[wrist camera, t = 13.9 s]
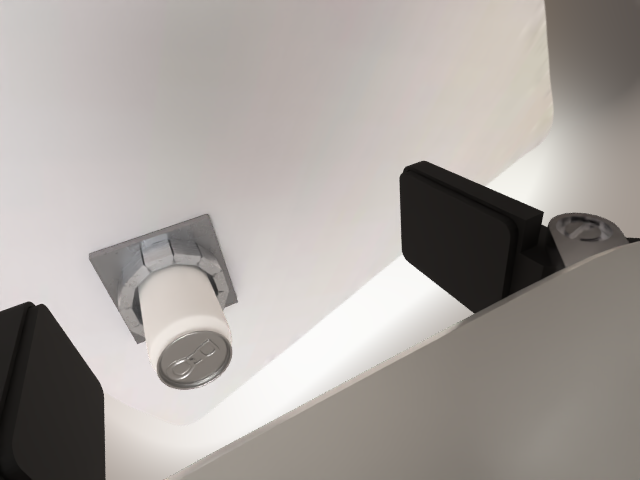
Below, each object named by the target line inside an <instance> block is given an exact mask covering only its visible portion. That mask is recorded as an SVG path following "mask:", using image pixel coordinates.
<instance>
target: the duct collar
mask: <svg viewBox="0 0 640 480" xmlns="http://www.w3.org/2000/svg"><path fill="white" fill-rule="evenodd" d="M89 260H90V262H91V263H92V265H93V267H94V269H95V270H96V272H97V274H98V276H99V277H100V279H101V281H102V283H103V284H104V286H105V288H106V290H107V291H108V293H109V295H110V297H111V298H112V300H113V302H114V304H115V305H116V307H117V309H118V311H119V312H120V314H121V316H122V318H123V320H124V321H125V323H126V325H127V327H128V328H129V330H130V332H131V334H132V335H133V337H134V339H135V341H136V342H137V344H139V343H141V342H144V341H146V339H145V333H144V326H143V320H142V313H141V306H140V299H139V292H138V285H139V284H140V283H141V282H142V281H143V280H144V279H145V278H146V277H147V276H148V275H149V274H150V273H151V272H153V271H156V270H159V269H161V268H164V267H167V266H169V265H172V264H184V265H197V266H198V267H200V268H201V269H203V270H204V271H205V272H206V274H207V276H208V278H209V281H210V283H211V285H212V288H213V290H214V292H215V295H216V297H217V299H218V302H219V304H220V306H221V309H222V311H223V310H224V308H225V307H227V306H230V305H232V304H234V303H237V302H238V300H237V297H236V295H235V292H234V289H233V286H232V283H231V280H230V277H229V274H228V271H227V268H226V265H225V262H224V259H223V256H222V253H221V250H220V247H219V244H218V242H217V239H216V236H215V233H214V230H213V227H212V224H211V221H210V218H209V216H208V214H206V215H203V216H200V217H197V218H194V219H191V220H188V221H185V222H182V223H179V224H176V225H173V226H170V227H167V228H164V229H161V230H158V231H155V232H152V233H149V234H147V235H144V236H141V237H138V238H135V239H132V240H129V241H126V242H123V243H120V244H117V245H114V246H111V247H108V248H105V249H102V250H99V251H96V252H93V253H90V254H89Z"/></svg>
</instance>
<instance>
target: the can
mask: <svg viewBox="0 0 640 480" xmlns="http://www.w3.org/2000/svg"><path fill="white" fill-rule="evenodd" d="M138 292H139V299H140V306H141V313H142V320H143V326H144V333H145V339H146V345H147V351H148V357H149V361H150V363H151V366H152V367H153V369H154V370H155V371H156V372H157V374H158V376H159V378H160V380H161V381H162V382H163V383H164V384H165V385H167V386H169V387H171V388H175V389H181V390H187V389H194V388H198V387H201V386H204V385H206V384H208V383H210V382H212V381H214V380H215V379H216V378H218V377H219V376H220V375H221V374H222V373H223V372H224V371H225V370H226V368H227V367H228V365H229V363H230V361H231V358H232V347H231V344H232V335H231V331H230V328H229V325H228V323H227V320H226V318H225V316H224V313H223V311H222V309H221V306H220V304H219V302H218V299H217V297H216V295H215V292H214V290H213V288H212V285H211V283H210V281H209V278H208V276H207V274H206V272H205V271H204V270H203V269H201V268H200V267H198V266H197V265H184V264H172V265H169V266H167V267H164V268H161V269H159V270H156V271H153V272H151V273H150V274H149V275H148V276H147V277H146V278H145V279H144V280H143V281H142V282H141V283H140V284H139V285H138Z"/></svg>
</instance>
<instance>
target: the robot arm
mask: <svg viewBox="0 0 640 480" xmlns="http://www.w3.org/2000/svg"><path fill="white" fill-rule="evenodd" d="M400 209H401V239H402V253H403V255H404V257H405V259H406V260H407V261H408V262H409V263H411V264H412V265H413V266H414V267H416V268H417V269H418V270H419V271H421V272H422V273H423V274H425V275H426V276H427V277H428V278H430V279H431V280H432V281H434V282H435V283H436V284H437V285H439V286H440V287H441V288H443V289H444V290H445V291H447V292H448V293H449V294H450V295H452V296H453V297H454V298H456V299H457V300H458V301H459V302H460V303H462V304H463V305H464V306H466V307H467V308H468V309H469V310H471V311H472V312H473V313H475V314H473V315H471V316H470V317H468V318H466V319H464V320H462V321H460V322H458V323H456V324H454V325H452V326H451V327H448V328H447V329H445V330H443V331H441V332H439V333H437V334H435V335H433V336H431V337H429V338H427V339H426V340H424V341H422V342H420V343H418V344H416V345H414V346H412V347H411V348H409V349H407V350H405V351H403V352H401V353H399V354H397V355H395V356H393V357H392V358H390V359H388V360H386V361H384V362H382V363H380V364H378V365H376V366H375V367H373V368H371V369H369V370H367V371H365V372H364V373H361V374H359V375H358V376H356V377H354V378H352V379H350V380H348V381H346V382H344V383H342V384H341V385H339V386H337V387H335V388H333V389H331V390H329V391H327V392H325V393H324V394H322V395H320V396H318V397H316V398H314V399H312V400H311V401H309V402H307V403H305V404H303V405H301V406H299V407H298V408H296V409H294V410H292V411H290V412H288V413H286V414H284V415H282V416H281V417H279V418H277V419H275V420H273V421H271V422H269V423H267V424H266V425H264V426H262V427H260V428H258V429H256V430H254V431H253V432H251V433H249V434H247V435H245V436H243V437H242V438H239V439H238V440H236V441H234V442H232V443H230V444H229V445H226V446H225V447H223V448H221V449H219V450H217V451H215V452H213V453H212V454H210V455H208V456H206V457H204V458H202V459H200V460H198V461H197V462H195V463H193V464H191V465H189V466H187V467H186V468H184V469H182V470H180V471H178V472H177V473H175V474H173V475H171V476H169V477H168V478H166V479H164V480H640V238H626V237H625V236H624V234H623V233H622V231H621V230H620V229H619V227H617V225H615V224H614V223H613V222H611V221H609V220H607V219H605V218H602V217H599V216H597V215H592V214H586V213H565V214H561V215H557V216H555V217H554V218H552V219H551V220H550V222H549V224H548V227H546V226H543V225H541V224H542V218H543V213H544V212H543V211H540V210H538V209H536V208H533V207H531V206H528V205H526V204H524V203H522V202H519V201H517V200H515V199H512V198H510V197H508V196H505V195H503V194H501V193H498V192H496V191H494V190H492V189H489V188H487V187H485V186H482V185H480V184H478V183H475V182H473V181H471V180H469V179H466V178H464V177H462V176H459V175H457V174H455V173H452V172H450V171H448V170H445V169H443V168H441V167H438V166H436V165H434V164H432V163H429V162H427V161H421V162H418V163H415V164H412V165H410V166H407V167H405V168H404V171H403V173H402V174H401V175H400ZM104 429H105V428H104V394H103V390H102V387H101V384H100V382H99V381H98V379H97V378H96V376H95V375H94V374H93V372H92V371H91V369H90V368H89V366H88V365H87V364H86V362H85V361H84V359H83V358H82V356H81V355H80V354H79V352H78V351H77V349H76V348H75V346H74V345H73V344H72V342H71V341H70V339H69V338H68V336H67V335H66V334H65V332H64V331H63V329H62V328H61V326H60V325H59V324H58V322H57V321H56V319H55V318H54V316H53V315H52V314H51V312H50V311H49V309H48V308H47V307H46V306H45V305H44V304H40V305H37V306H35V305H34V304H33V303H32V302H26V303H23V304H20V305H17V306H14V307H12V308H9V309H6V310H3V311H0V480H105V430H104Z"/></svg>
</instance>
